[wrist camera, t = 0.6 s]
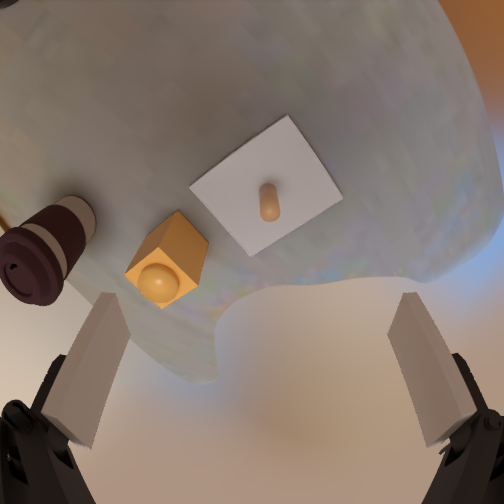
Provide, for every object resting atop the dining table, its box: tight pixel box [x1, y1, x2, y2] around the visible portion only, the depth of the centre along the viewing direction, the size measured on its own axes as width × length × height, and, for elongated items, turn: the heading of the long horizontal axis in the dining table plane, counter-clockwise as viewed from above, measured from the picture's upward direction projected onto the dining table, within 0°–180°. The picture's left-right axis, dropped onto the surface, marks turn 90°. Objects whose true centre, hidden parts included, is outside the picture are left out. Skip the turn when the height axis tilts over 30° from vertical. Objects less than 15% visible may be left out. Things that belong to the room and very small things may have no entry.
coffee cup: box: [0, 196, 96, 306], centre depth 31 cm, size 10×10×15 cm
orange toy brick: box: [124, 210, 209, 309], centre depth 34 cm, size 6×6×10 cm
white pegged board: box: [189, 114, 344, 257], centre depth 32 cm, size 12×14×7 cm
